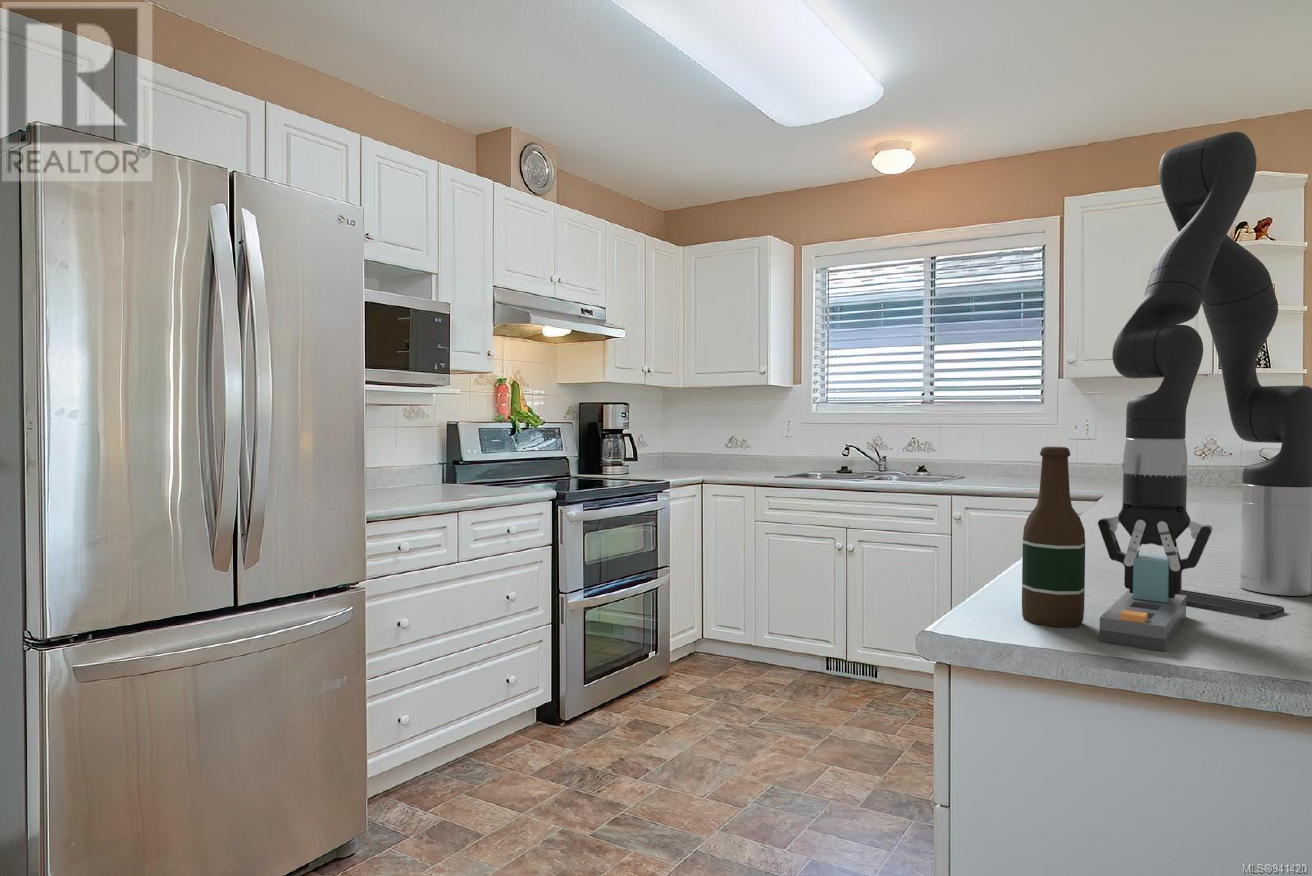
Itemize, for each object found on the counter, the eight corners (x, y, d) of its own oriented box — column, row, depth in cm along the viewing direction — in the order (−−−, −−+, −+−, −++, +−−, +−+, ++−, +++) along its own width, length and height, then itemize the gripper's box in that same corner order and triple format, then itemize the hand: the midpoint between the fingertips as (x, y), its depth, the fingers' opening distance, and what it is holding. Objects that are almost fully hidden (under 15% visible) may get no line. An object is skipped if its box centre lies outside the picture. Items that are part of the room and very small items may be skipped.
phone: (1174, 588, 129) (1287, 607, 117) (1174, 595, 129) (1286, 614, 117) (1149, 594, 125) (1263, 614, 112) (1149, 601, 125) (1263, 622, 112)
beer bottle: (1079, 616, 114) (1082, 446, 113) (1089, 630, 106) (1092, 448, 106) (1018, 612, 116) (1021, 445, 115) (1024, 625, 109) (1027, 447, 108)
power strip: (1129, 609, 118) (1129, 583, 118) (1185, 616, 114) (1186, 589, 114) (1099, 641, 101) (1099, 611, 101) (1164, 651, 97) (1165, 620, 97)
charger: (1138, 603, 115) (1139, 554, 115) (1171, 607, 113) (1172, 557, 113) (1132, 609, 111) (1133, 558, 111) (1166, 614, 109) (1167, 562, 109)
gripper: (1219, 472, 110) (1216, 597, 110) (1102, 468, 119) (1099, 583, 119) (1214, 475, 104) (1211, 607, 105) (1091, 470, 113) (1089, 592, 114)
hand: (1152, 594), depth 112 cm, fingers closed on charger, 4 cm apart
